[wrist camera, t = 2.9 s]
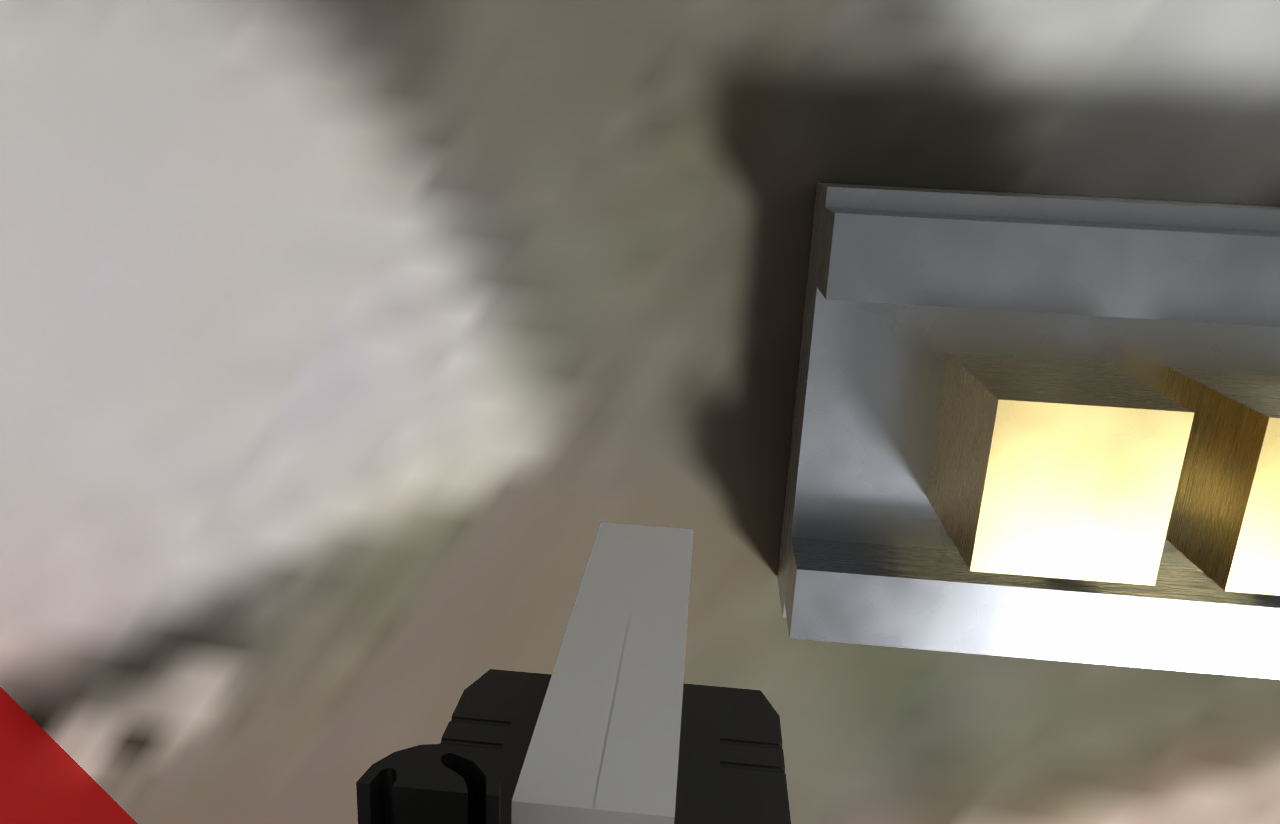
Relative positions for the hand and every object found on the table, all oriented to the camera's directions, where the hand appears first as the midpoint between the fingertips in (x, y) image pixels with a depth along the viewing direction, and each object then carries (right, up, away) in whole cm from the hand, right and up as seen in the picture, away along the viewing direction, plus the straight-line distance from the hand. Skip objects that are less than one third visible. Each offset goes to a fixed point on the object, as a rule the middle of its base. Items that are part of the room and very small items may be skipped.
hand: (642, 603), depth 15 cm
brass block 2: (+15, +2, +9) cm, 18 cm away
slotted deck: (+13, +3, +11) cm, 17 cm away
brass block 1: (+10, +3, +9) cm, 14 cm away
